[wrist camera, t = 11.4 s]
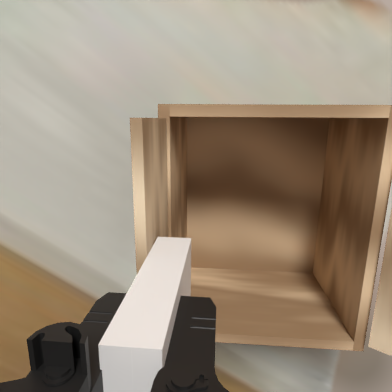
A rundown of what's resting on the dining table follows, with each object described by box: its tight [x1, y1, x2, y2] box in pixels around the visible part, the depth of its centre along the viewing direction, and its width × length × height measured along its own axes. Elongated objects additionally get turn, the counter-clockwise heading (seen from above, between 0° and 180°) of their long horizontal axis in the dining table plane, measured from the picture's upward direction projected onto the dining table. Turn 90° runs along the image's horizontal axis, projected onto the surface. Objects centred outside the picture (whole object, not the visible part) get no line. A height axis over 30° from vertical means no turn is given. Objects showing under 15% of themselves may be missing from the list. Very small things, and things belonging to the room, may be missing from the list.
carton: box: [158, 104, 392, 351], centre depth 21 cm, size 14×12×9 cm
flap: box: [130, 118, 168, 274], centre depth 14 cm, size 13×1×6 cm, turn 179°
